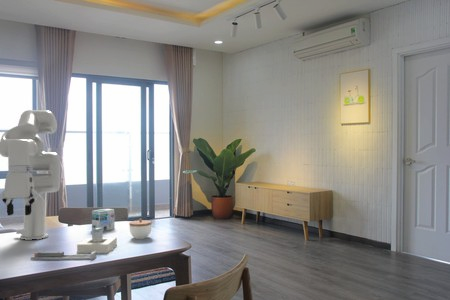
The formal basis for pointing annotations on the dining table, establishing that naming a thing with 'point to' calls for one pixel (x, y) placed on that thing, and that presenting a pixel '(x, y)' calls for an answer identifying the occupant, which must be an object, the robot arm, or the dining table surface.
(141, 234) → the lidded jar
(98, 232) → the grey canister
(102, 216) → the light bulb box
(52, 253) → the lock pin
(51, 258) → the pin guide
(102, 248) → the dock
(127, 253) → the dining table surface
